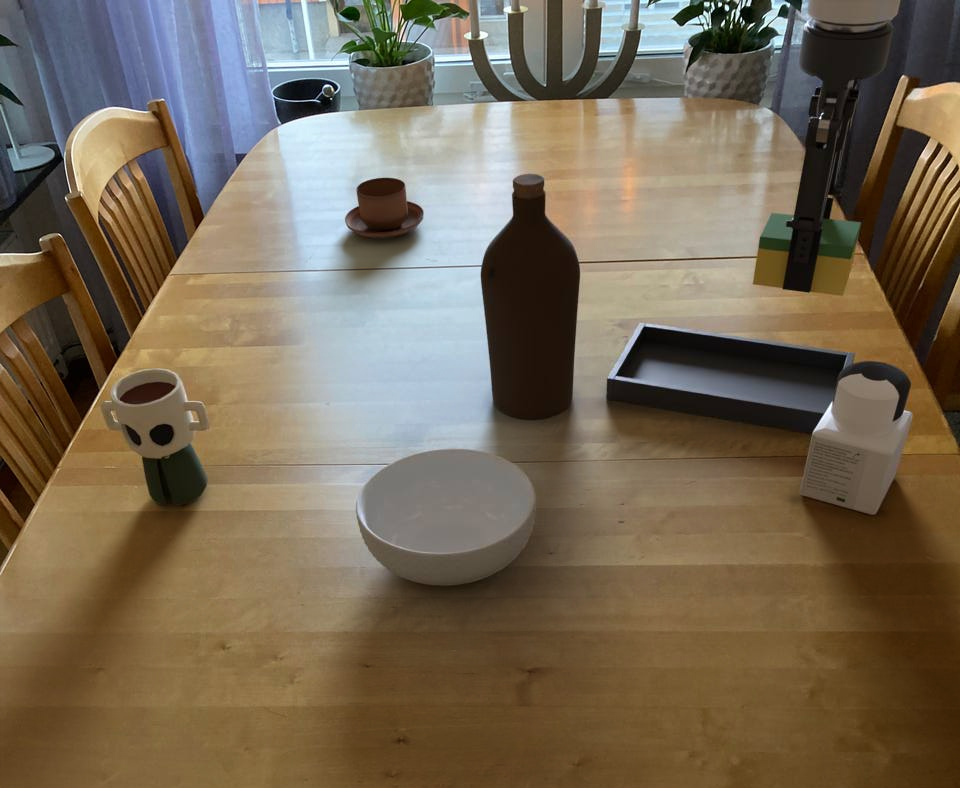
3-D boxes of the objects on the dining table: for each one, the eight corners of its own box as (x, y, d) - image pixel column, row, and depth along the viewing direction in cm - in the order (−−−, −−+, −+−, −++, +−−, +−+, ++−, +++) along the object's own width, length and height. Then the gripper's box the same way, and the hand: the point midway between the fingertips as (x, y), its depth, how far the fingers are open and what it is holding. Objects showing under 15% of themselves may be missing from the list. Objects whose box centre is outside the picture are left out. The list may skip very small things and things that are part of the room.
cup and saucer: (333, 226, 155) (326, 185, 150) (399, 205, 159) (395, 165, 154) (370, 252, 147) (364, 210, 143) (439, 230, 152) (436, 188, 147)
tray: (850, 374, 117) (855, 353, 115) (832, 437, 109) (837, 415, 107) (638, 342, 125) (639, 322, 123) (605, 399, 116) (606, 378, 114)
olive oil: (557, 430, 112) (558, 206, 95) (472, 412, 116) (457, 193, 98) (591, 383, 119) (597, 165, 101) (509, 367, 123) (501, 154, 105)
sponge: (851, 269, 104) (861, 221, 101) (842, 296, 100) (853, 247, 97) (763, 259, 107) (771, 212, 103) (752, 284, 103) (759, 236, 99)
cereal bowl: (559, 520, 101) (560, 463, 96) (500, 630, 91) (497, 572, 86) (408, 489, 106) (401, 432, 101) (335, 589, 96) (323, 532, 91)
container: (821, 456, 107) (847, 345, 97) (895, 475, 103) (929, 363, 94) (798, 496, 102) (822, 383, 93) (874, 517, 99) (907, 403, 90)
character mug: (121, 512, 106) (79, 406, 97) (142, 472, 111) (105, 367, 102) (220, 513, 105) (188, 406, 96) (237, 472, 110) (208, 367, 101)
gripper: (822, -11, 94) (782, 232, 111) (786, 49, 82) (746, 312, 99) (906, -8, 92) (852, 240, 108) (881, 55, 80) (825, 323, 96)
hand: (802, 274), depth 103 cm, fingers closed on sponge, 6 cm apart
